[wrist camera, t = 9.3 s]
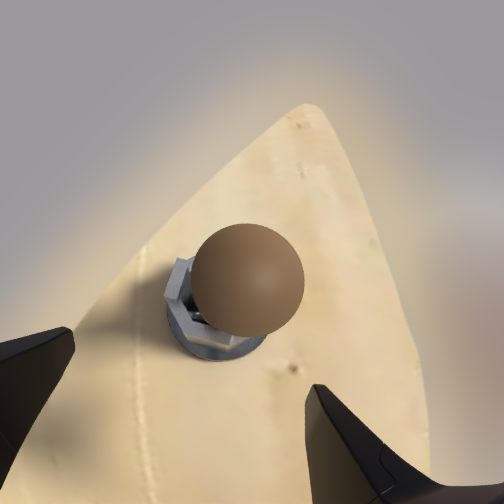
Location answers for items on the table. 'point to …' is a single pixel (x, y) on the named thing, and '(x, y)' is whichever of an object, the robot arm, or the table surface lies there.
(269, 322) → the walnut pin
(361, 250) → the table surface
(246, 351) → the flanged castle nut
